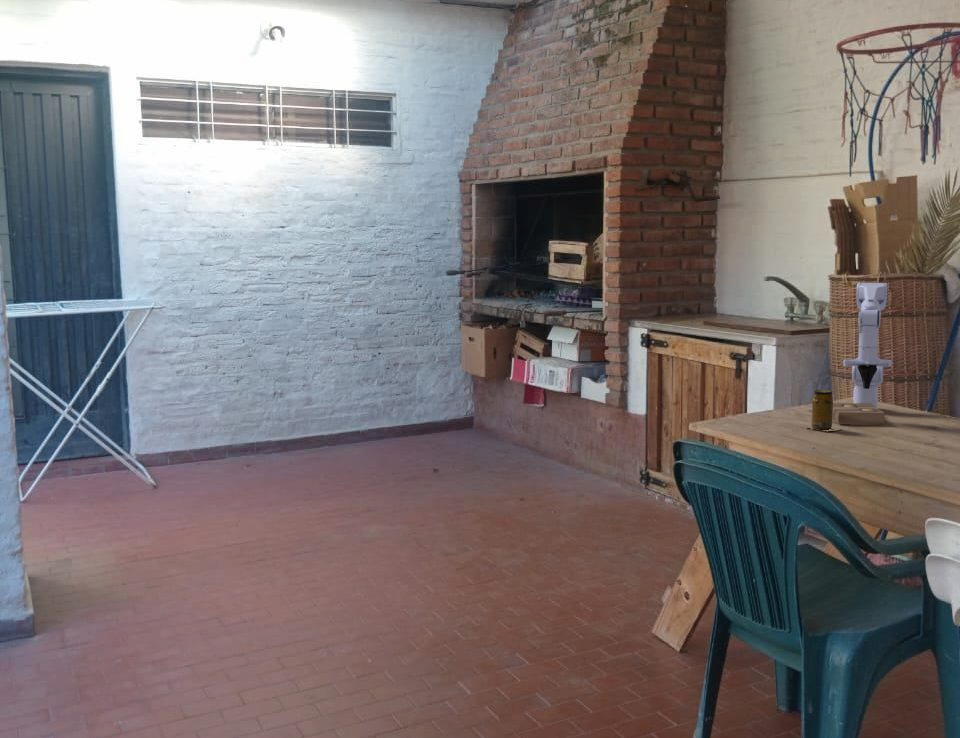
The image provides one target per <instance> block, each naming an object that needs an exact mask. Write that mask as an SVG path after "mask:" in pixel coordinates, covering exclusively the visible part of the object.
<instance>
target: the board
mask: <svg viewBox="0 0 960 738" xmlns="http://www.w3.org/2000/svg"><path fill="white" fill-rule="evenodd" d="M844 405H854V406H855V407H844ZM885 413H886V412H884V411H883V410H882V409H880V408H878V406H877V407H875V406H874V405H872V404H871V403H853V402H851V403H850V402H849V403H848V402H846V403H845V402H833V414H832V419H833V420H835V421H836V422H837V423H838V424H851V425H850V426H885V415H886V414H885ZM833 420H832V421H833ZM836 422H835V423H836ZM837 423H836V424H837ZM838 424H837V425H838Z"/></svg>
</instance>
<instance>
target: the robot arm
mask: <svg viewBox="0 0 960 738" xmlns="http://www.w3.org/2000/svg"><path fill="white" fill-rule="evenodd" d="M888 286H889V285H888V283H887V282H860V281H858V282H857V284H856V293H855V295H856V296H855V299H856V305H857V306H856V308H857V309H858V310H860V311H859V312H858V321H857V322H858V334H859V336H858V356H857V357H856V358H854V359H843V364H842V366H843V367H851V368H852V369H851V381H852V383H855V386H854V388H853V394H852V396H853V397H852V403H871V404H872V405H874V406H875V407H877V408H878V405H879V404H878V401H879V386H880V385H881V384H882V383H884V382H883V381H884V367H888V368H889V367H891V368H892V363H893V362H892V360H891V359H881V358H880V357H878V348H879V347H878V346H879V329H880V326H881V316H882V315H881V314H882V313H881V311H883V310H885V309H886V306H887V300H888Z"/></svg>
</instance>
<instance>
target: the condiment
mask: <svg viewBox="0 0 960 738" xmlns="http://www.w3.org/2000/svg"><path fill="white" fill-rule="evenodd" d="M813 395H814V396H813V399H812V402H811V403H812V406H811V407H812V409H811V427H812V428H813V429H819V430H818V431H821V430H829V429H832V428H833V420H832V414H833V403H834V400H833V392H832V391H831V390H827V389H817V390H816V389H815V390H814V393H813ZM831 427H832V428H831ZM832 430H833V429H832ZM821 432H822V431H821ZM826 432H827V433H829V432H828V431H826ZM826 432H825V433H826Z"/></svg>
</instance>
